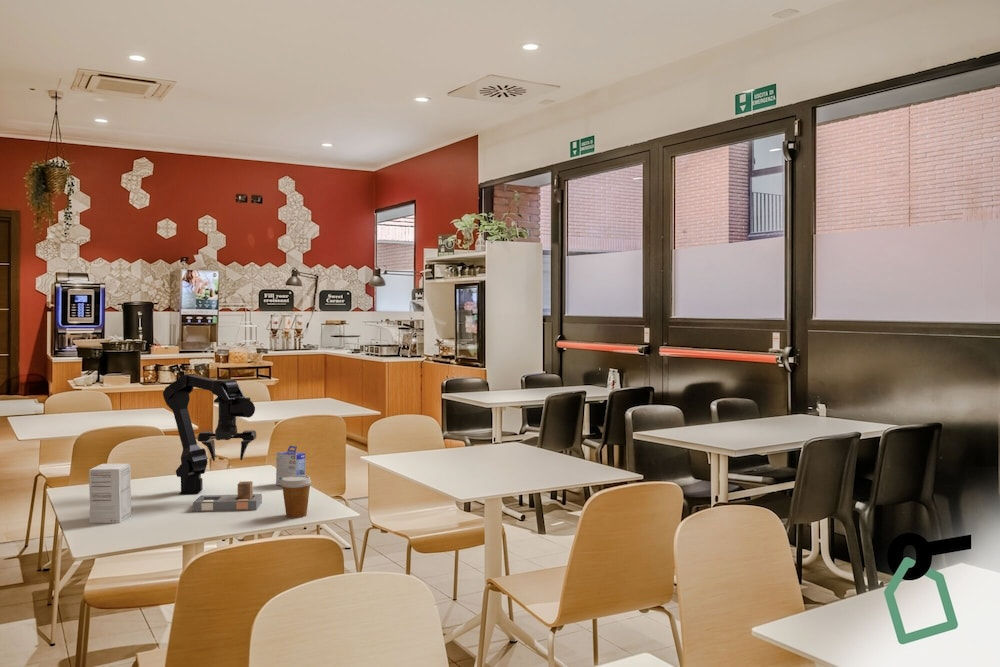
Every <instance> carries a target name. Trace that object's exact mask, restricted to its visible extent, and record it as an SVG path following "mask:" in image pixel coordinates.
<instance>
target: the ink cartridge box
mask: <svg viewBox="0 0 1000 667" xmlns="http://www.w3.org/2000/svg"><path fill="white" fill-rule="evenodd" d="M297 447H298V446H295V445H289V446H288V449H287V451H281V452H277V453H276V455H275V456H276V460H275V461H276V462H275V466H276V467H275V470H276V471H275V472H276V473H275V476H276V479H275V485H276V486H281V487H282V484H281V482H282V478H284V477H287V476H295V475H303V476H306V452H297V449H298V448H297Z"/></svg>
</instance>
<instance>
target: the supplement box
mask: <svg viewBox="0 0 1000 667" xmlns="http://www.w3.org/2000/svg"><path fill="white" fill-rule="evenodd" d="M131 474H132V471H131V463H101V464H99V465H97V466H96V465H95V466H94V467H93V468H90V469H89V470H88V476H89V478H88V481H89V524H121V523H122V522H124V521H125V520H126V519H128V518H129V517H131V516H132V488H131V486H132V485H131Z"/></svg>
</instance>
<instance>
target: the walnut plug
mask: <svg viewBox="0 0 1000 667" xmlns="http://www.w3.org/2000/svg"><path fill="white" fill-rule="evenodd" d="M253 494H254V492H253V481H239V482H238V483H237V495H238V499H253Z"/></svg>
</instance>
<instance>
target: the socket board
mask: <svg viewBox="0 0 1000 667" xmlns="http://www.w3.org/2000/svg"><path fill="white" fill-rule="evenodd" d="M262 498H263V495H262V493H253V499H238V494H209V495H206V494H204V495H203V494H202V495H199V496H198V497H197V498H196V499H195V500H194V501H192V512H223V511H224V512H225V511H227V512H229V511H233V510H234V511H257V510H258V508H260V506H261V505H262V504H263V501H262V500H263V499H262Z"/></svg>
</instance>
